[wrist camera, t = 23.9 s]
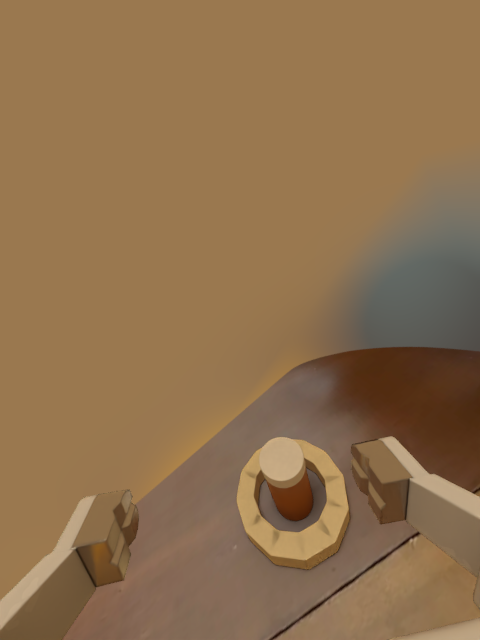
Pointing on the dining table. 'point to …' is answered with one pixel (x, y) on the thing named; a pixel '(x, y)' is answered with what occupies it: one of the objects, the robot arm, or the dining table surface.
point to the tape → (311, 541)
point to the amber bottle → (287, 477)
